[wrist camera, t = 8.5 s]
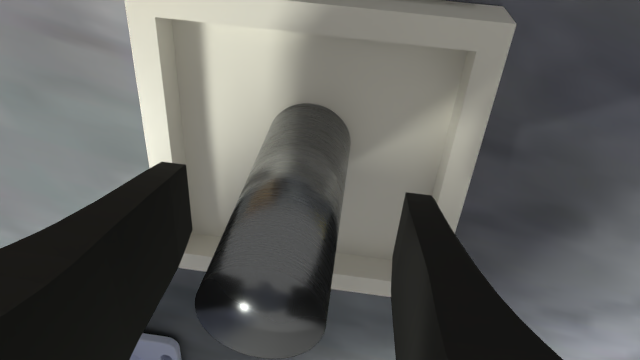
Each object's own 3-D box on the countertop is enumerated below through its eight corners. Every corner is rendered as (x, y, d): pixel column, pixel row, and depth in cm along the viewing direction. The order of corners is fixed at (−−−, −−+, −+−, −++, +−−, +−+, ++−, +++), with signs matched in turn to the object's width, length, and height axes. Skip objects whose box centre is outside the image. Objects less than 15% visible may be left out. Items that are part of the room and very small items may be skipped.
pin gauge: (350, 177, 15) (327, 363, 9) (272, 173, 15) (205, 353, 10) (351, 104, 13) (324, 272, 8) (265, 102, 14) (183, 263, 8)
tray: (431, 270, 17) (434, 303, 16) (179, 236, 18) (164, 266, 16) (503, 6, 12) (516, 24, 11) (148, -30, 13) (121, -17, 11)
